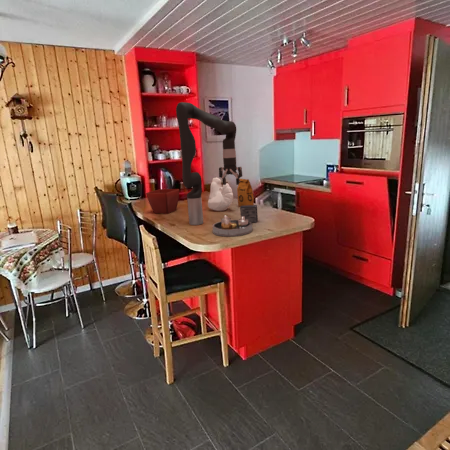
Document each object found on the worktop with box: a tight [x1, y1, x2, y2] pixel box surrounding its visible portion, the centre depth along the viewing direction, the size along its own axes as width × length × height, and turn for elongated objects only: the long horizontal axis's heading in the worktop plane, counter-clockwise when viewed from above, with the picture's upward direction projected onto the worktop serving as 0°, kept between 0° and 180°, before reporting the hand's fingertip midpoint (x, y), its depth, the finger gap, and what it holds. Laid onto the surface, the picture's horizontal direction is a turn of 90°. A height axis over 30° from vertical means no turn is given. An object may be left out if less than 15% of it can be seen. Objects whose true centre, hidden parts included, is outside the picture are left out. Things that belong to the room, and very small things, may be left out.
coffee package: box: [236, 178, 255, 208], centre depth 263 cm, size 10×12×22 cm
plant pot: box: [145, 188, 180, 214], centre depth 265 cm, size 19×19×17 cm
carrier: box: [212, 215, 253, 238], centre depth 198 cm, size 23×23×8 cm
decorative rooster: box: [207, 177, 234, 212], centre depth 255 cm, size 25×16×25 cm, turn 26°
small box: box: [239, 204, 259, 224], centre depth 217 cm, size 11×6×10 cm, turn 81°
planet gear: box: [221, 222, 233, 229], centre depth 193 cm, size 6×6×5 cm
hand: (231, 184), depth 201 cm, fingers open, 8 cm apart
